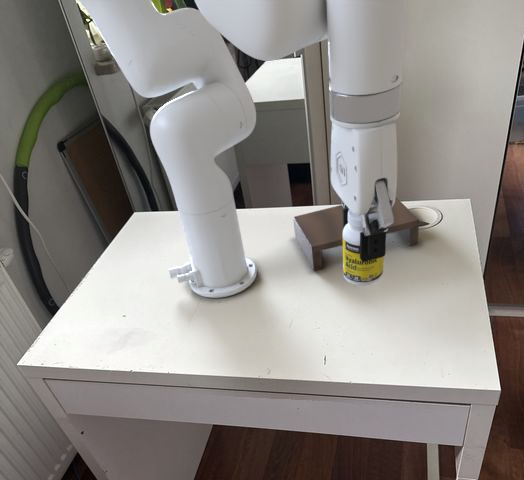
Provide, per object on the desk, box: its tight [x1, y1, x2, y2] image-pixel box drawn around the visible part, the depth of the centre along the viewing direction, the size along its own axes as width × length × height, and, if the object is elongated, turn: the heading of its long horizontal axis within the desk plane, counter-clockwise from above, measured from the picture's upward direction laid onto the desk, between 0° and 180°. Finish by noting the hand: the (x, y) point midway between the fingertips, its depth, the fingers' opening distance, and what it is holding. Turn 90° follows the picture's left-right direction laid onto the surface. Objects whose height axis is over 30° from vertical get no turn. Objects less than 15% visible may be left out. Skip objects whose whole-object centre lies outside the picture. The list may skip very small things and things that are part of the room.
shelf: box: [292, 196, 420, 272], centre depth 98 cm, size 20×12×5 cm, turn 103°
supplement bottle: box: [342, 204, 385, 286], centre depth 68 cm, size 5×5×10 cm
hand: (363, 244), depth 68 cm, fingers closed on supplement bottle, 5 cm apart
